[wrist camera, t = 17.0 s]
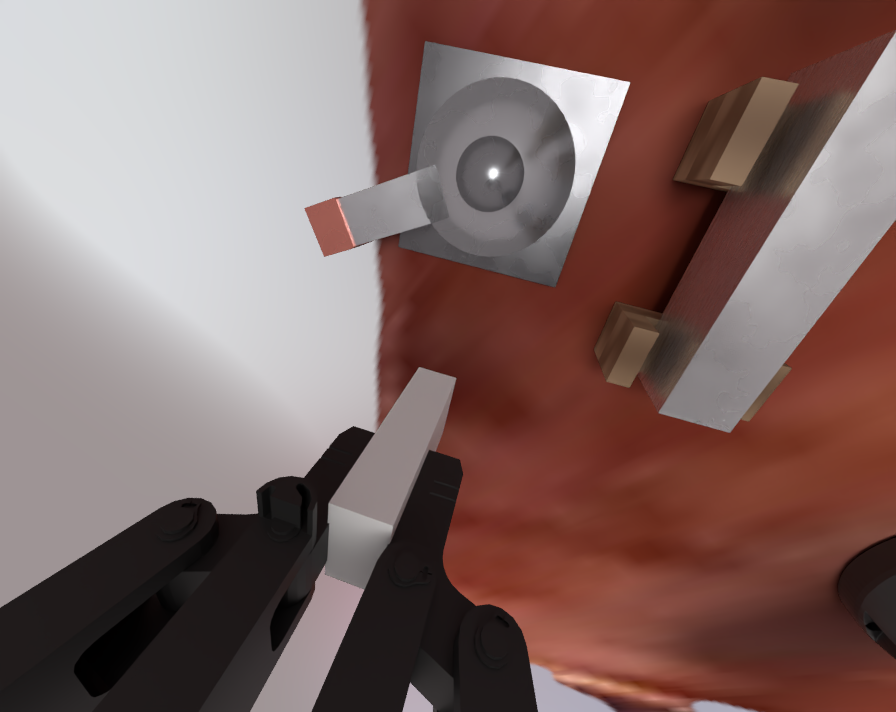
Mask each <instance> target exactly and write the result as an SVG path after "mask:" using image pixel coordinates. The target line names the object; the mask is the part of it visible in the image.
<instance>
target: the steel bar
mask: <svg viewBox="0 0 896 712" xmlns="http://www.w3.org/2000/svg"><path fill="white" fill-rule="evenodd" d="M787 82H792V83H797V84H799V85H798V86H797V88H796V90H795V92H794V94H793V95H792V97H791V99H790V101H789V103H788V104H787V106H786V108H785V110H784V111H783V113H782V115H781V117H780V119H779V120H778V122H777V124H776V126H775V128H774V129H773V131H772V133H771V135H770V137H769V138H768V140H767V142H766V144H765V146H764V147H763V149H762V151H761V153H760V155H759V156H758V158H757V160H756V162H755V163H754V165H753V167H752V169H751V171H750V172H749V174H748V176H747V178H746V180H745V181H744V183H743V185H742V186H731V187H730V189H729V191H728V193H727V194H726V196H725V198H724V200H723V202H722V204H721V206H720V207H719V209H718V211H717V213H716V215H715V217H714V219H713V221H712V222H711V224H710V226H709V228H708V230H707V232H706V234H705V235H704V237H703V239H702V241H701V243H700V245H699V247H698V249H697V250H696V252H695V254H694V256H693V258H692V260H691V262H690V263H689V265H688V267H687V269H686V271H685V273H684V275H683V277H682V278H681V280H680V282H679V284H678V286H677V288H676V290H675V292H674V293H673V295H672V297H671V299H670V301H669V303H668V305H667V306H666V308H665V310H664V312H663V314H662V316H661V318H660V320H659V321H658V323H657V325H656V327H655V328H656V330H657V331H658V332H659V333H660V334H659V336H658V337H657V339H656V341H655V343H654V345H653V346H652V348H651V350H650V352H649V354H648V355H647V357H646V359H645V361H644V362H643V364H642V366H641V368H640V370H639V371H638V373H637V376H638V377H639V379H640V381H641V383H642V385H643V386H644V388H645V390H646V392H647V394H648V395H649V397H650V399H651V401H652V402H653V404H654V406H655V408H656V410H657V411H658V413H660V414H664V415H667V416H671V417H675V418H678V419H682V420H685V421H689V422H693V423H696V424H700V425H703V426H707V427H711V428H714V429H718V430H721V431H725V432H729V433H730V432H731V431H732V429H733V428H734V427H735V425H736V424H737V423H738V422H739V420H740V419H741V418H742V416H743V415H744V414H745V413H746V411H747V410H748V409H749V407H750V406H751V405H752V404H753V402H754V401H755V400H756V398H757V397H758V396H759V395H760V393H761V392H762V391H763V389H764V388H765V387H766V386H767V384H768V383H769V382H770V380H771V379H772V378H773V377H774V375H775V374H776V373H777V371H778V370H779V369H780V368H781V366H782V365H783V364H784V362H785V361H786V360H787V359H788V357H789V356H790V355H791V353H792V352H793V351H794V350H795V348H796V347H797V346H798V344H799V343H800V342H801V341H802V339H803V338H804V337H805V335H806V334H807V333H808V332H809V330H810V329H811V328H812V326H813V325H814V324H815V323H816V321H817V320H818V319H819V317H820V316H821V315H822V314H823V312H824V311H825V310H826V308H827V307H828V306H829V305H830V303H831V302H832V301H833V299H834V298H835V297H836V296H837V294H838V293H839V292H840V290H841V289H842V288H843V287H844V285H845V284H846V283H847V281H848V280H849V279H850V278H851V276H852V275H853V274H854V272H855V271H856V270H857V269H858V267H859V266H860V265H861V263H862V262H863V261H864V260H865V258H866V257H867V256H868V254H869V253H870V252H871V251H872V249H873V248H874V247H875V245H876V244H877V243H878V242H879V240H880V239H881V238H882V236H883V235H884V234H885V233H886V231H887V230H888V229H889V227H890V226H891V225H892V224H893V222H894V221H895V220H896V30H894V31H892V32H889V33H887V34H885V35H882V36H880V37H877V38H875V39H873V40H870V41H868V42H865V43H863V44H861V45H858V46H856V47H853V48H851V49H849V50H846V51H844V52H842V53H839V54H837V55H834V56H832V57H830V58H827V59H825V60H822V61H820V62H818V63H815V64H813V65H810V66H808V67H806V68H803V69H801V70H798V71H796V72H794V73H791V75H790V77H789V79H788V80H787Z"/></svg>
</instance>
